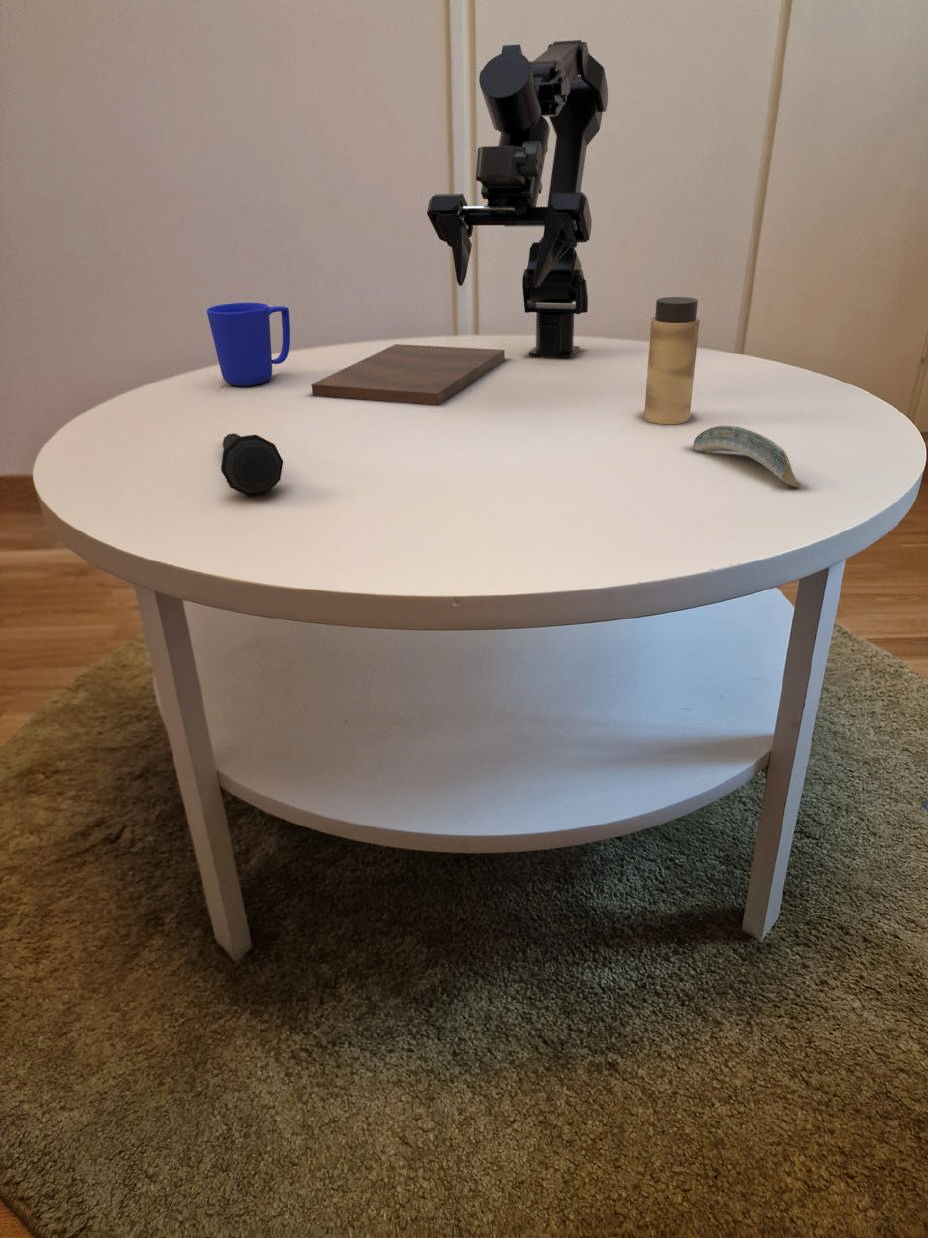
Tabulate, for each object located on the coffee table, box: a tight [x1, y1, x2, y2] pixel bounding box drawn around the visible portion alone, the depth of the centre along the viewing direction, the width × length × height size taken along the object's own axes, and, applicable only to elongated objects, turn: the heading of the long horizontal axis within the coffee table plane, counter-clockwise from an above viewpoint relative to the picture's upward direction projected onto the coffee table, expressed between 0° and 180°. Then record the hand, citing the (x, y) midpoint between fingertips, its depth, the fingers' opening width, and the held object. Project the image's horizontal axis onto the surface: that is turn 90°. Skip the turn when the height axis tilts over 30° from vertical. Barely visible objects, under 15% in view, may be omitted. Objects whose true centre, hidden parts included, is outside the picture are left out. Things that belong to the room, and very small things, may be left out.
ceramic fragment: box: [692, 424, 802, 488], centre depth 83 cm, size 14×5×4 cm, turn 22°
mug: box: [206, 302, 291, 387], centre depth 119 cm, size 8×12×10 cm
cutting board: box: [311, 343, 506, 406], centre depth 120 cm, size 26×18×2 cm
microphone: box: [220, 433, 284, 497], centre depth 86 cm, size 6×6×20 cm
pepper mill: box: [643, 296, 701, 425], centre depth 96 cm, size 5×5×13 cm
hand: (497, 284), depth 99 cm, fingers open, 9 cm apart
